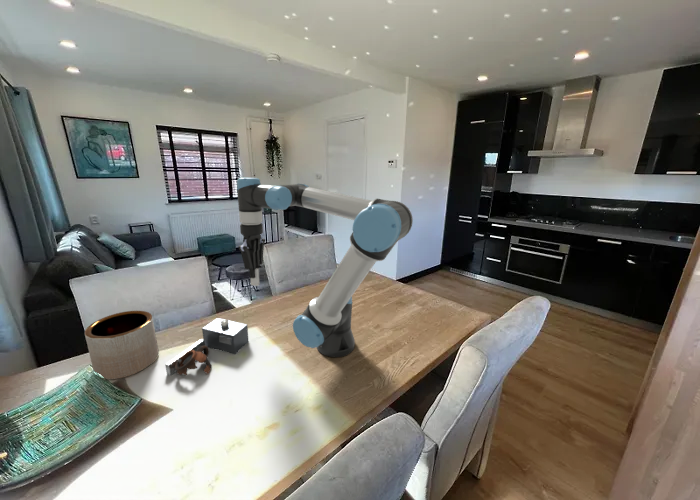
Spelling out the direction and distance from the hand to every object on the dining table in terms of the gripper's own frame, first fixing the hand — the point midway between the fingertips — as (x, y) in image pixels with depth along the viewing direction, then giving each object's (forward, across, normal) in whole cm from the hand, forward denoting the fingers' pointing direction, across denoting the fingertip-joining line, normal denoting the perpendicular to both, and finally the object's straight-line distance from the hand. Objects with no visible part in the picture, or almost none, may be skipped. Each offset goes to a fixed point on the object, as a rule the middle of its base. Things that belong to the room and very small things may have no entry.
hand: (255, 284), depth 105 cm
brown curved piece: (+25, +20, -11) cm, 34 cm away
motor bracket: (+24, +14, -11) cm, 30 cm away
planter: (+25, +25, -35) cm, 50 cm away
